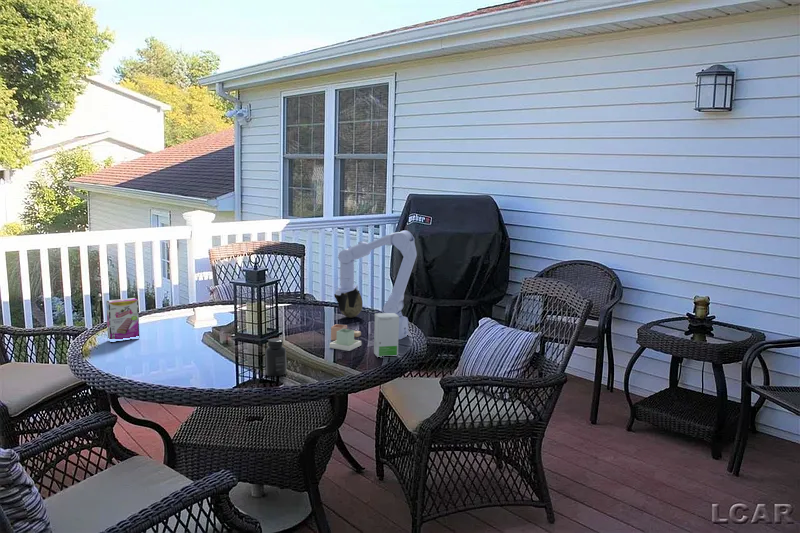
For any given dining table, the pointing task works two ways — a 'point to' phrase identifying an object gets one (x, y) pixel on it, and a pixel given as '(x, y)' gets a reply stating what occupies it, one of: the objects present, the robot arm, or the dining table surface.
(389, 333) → the skincare box
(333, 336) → the pot terracotta
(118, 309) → the candy bar box
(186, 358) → the dining table surface
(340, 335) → the pot green
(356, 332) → the cedar offcut
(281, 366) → the supplement bottle
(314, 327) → the dining table surface
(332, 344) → the tray
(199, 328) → the dining table surface
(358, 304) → the decorative egg
